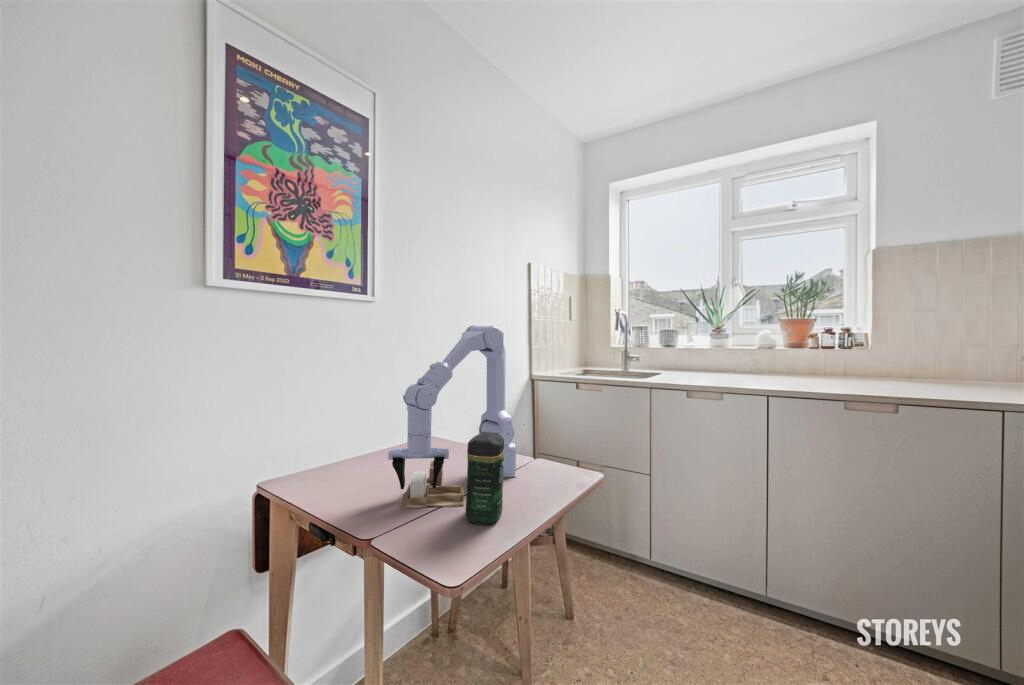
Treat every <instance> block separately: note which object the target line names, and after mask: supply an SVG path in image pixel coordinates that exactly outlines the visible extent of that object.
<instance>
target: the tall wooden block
mask: <svg viewBox="0 0 1024 685" xmlns="http://www.w3.org/2000/svg"><path fill="white" fill-rule="evenodd" d="M433 462H434V460H431V461H430V465H429V472H428V473H429V477H428V479H429V480H428V481H429V482H428V483H430V486H433ZM443 467H444V465H443V466H442V468H441V470H440V472H439V475H438V478H437V481H436V486H443V485H442V483H443V476H444V473H443V472H444V470H443Z"/></svg>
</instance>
